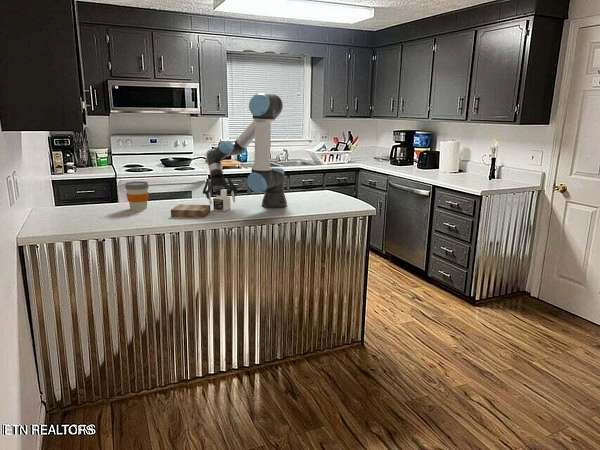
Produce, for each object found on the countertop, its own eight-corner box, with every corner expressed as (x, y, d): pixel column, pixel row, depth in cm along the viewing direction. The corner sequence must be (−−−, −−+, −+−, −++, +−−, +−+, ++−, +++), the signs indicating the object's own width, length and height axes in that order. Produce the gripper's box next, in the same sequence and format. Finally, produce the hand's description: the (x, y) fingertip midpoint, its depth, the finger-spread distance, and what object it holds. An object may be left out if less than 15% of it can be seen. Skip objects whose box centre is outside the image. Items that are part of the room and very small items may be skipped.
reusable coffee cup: (122, 209, 251) (119, 183, 248) (139, 205, 262) (137, 180, 258) (138, 212, 246) (135, 185, 242) (154, 208, 257) (153, 182, 253)
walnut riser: (210, 212, 248) (210, 205, 247) (204, 217, 235) (204, 210, 234) (179, 211, 249) (178, 204, 248) (171, 217, 235) (170, 209, 234)
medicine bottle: (213, 210, 253) (212, 189, 250) (221, 207, 259) (220, 187, 256) (223, 211, 250) (222, 190, 247) (230, 209, 256) (230, 188, 253)
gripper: (235, 175, 269) (242, 204, 259) (194, 177, 260) (200, 207, 250) (237, 167, 263) (244, 197, 253) (195, 169, 254) (201, 199, 244)
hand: (222, 202), depth 252 cm, fingers open, 13 cm apart
